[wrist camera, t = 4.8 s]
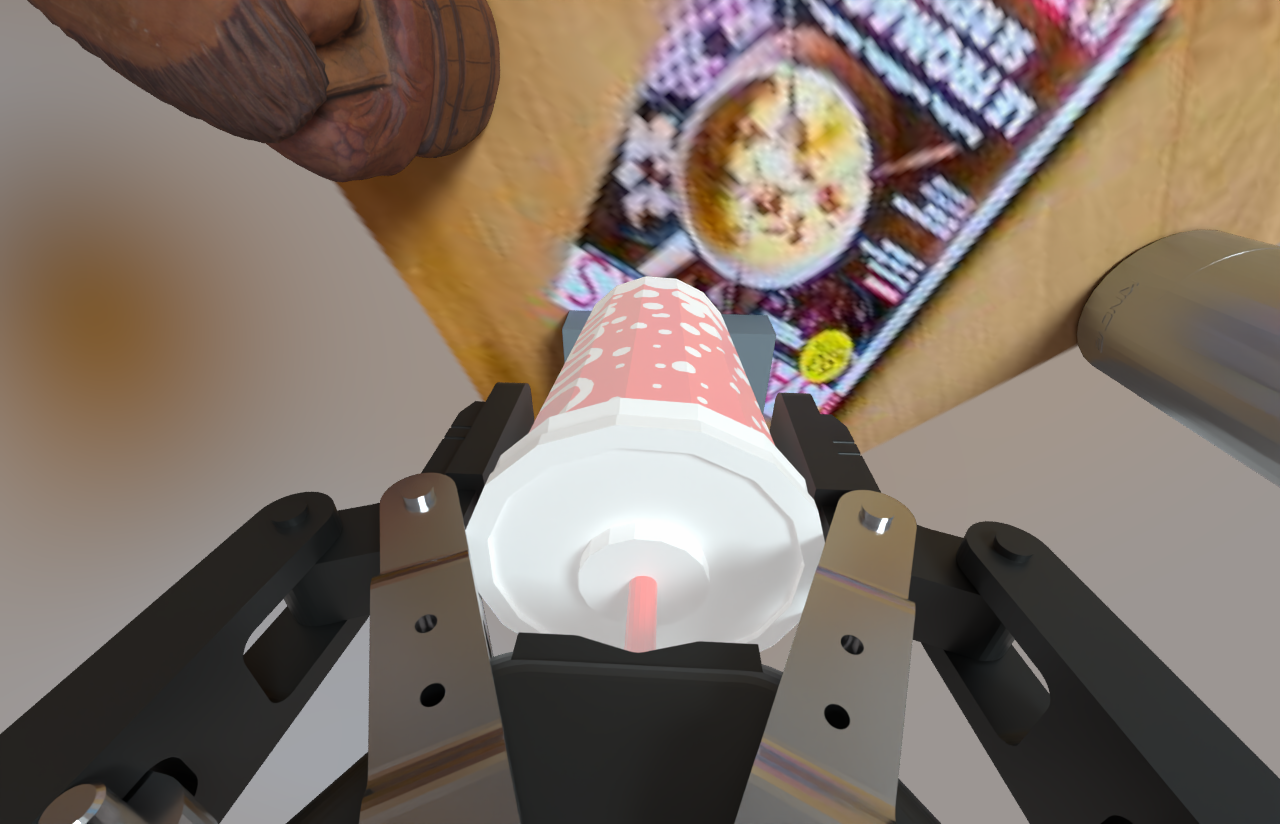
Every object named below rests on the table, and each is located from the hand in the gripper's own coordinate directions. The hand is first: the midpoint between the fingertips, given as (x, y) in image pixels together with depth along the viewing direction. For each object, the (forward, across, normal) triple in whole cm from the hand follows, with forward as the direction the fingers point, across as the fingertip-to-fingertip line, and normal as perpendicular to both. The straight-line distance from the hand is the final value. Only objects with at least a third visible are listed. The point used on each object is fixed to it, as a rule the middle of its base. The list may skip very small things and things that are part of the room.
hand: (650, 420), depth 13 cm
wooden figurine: (+21, +12, -10) cm, 26 cm away
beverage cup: (+4, 0, 0) cm, 4 cm away
